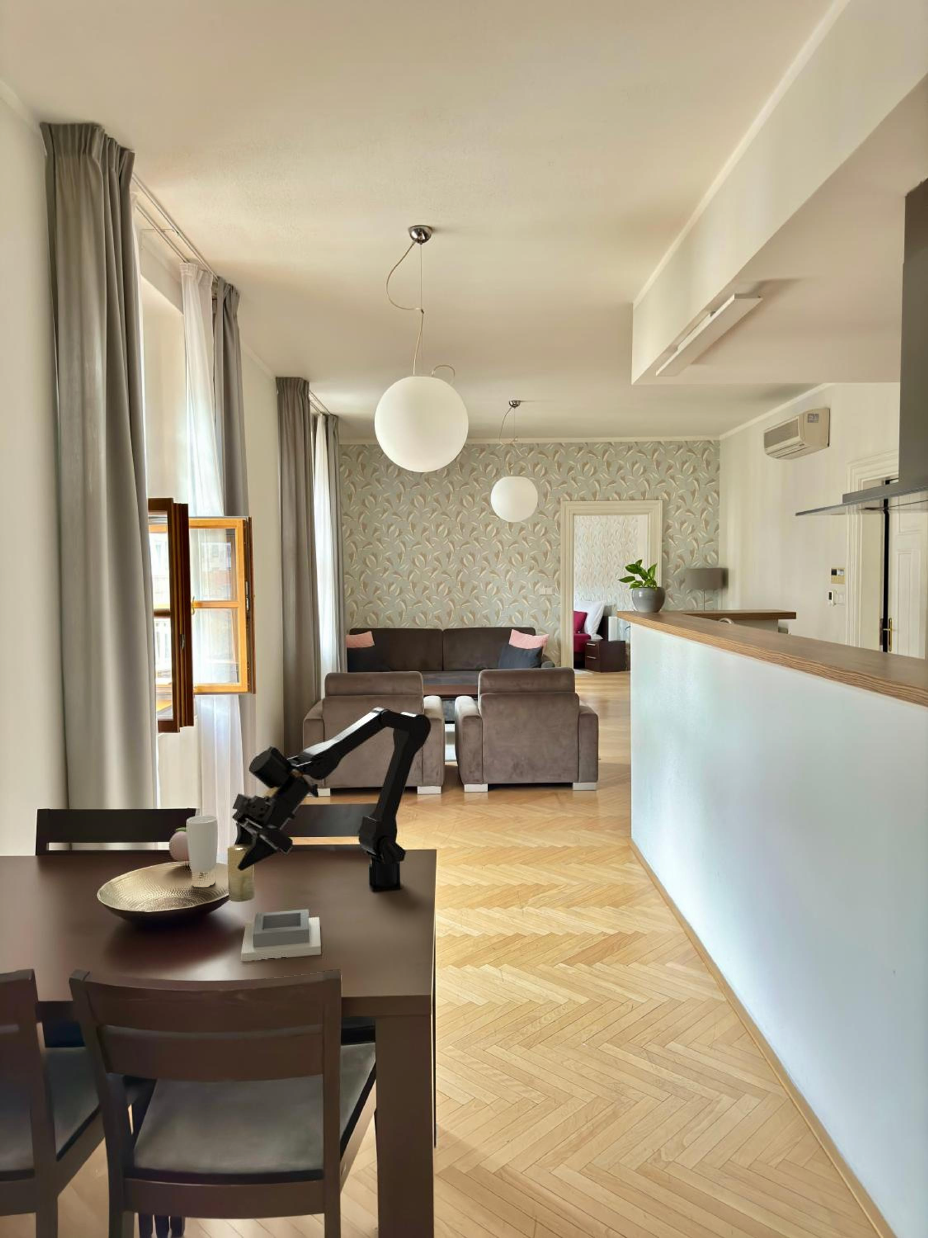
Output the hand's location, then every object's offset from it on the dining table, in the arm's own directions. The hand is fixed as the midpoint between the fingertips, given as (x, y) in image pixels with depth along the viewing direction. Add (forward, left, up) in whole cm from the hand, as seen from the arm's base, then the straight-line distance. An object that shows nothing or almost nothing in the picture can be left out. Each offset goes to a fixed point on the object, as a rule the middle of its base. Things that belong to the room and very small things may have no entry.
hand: (234, 866), depth 171 cm
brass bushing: (-1, -1, -7) cm, 7 cm away
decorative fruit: (+14, -39, -12) cm, 43 cm away
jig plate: (-9, +11, -12) cm, 19 cm away
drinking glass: (+9, -25, -12) cm, 29 cm away
